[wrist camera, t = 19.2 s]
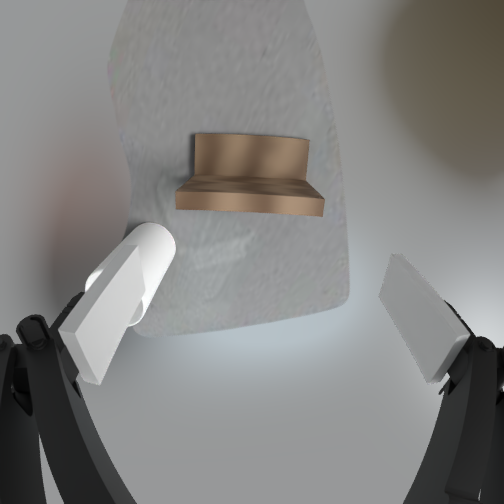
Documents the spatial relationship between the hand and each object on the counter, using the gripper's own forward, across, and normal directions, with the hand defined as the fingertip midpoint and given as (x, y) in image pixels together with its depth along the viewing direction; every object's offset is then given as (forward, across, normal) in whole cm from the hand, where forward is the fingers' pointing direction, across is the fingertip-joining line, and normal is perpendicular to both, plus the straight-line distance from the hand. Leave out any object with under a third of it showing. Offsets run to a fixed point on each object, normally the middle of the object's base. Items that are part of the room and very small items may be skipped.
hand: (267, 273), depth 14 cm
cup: (+28, -17, -12) cm, 35 cm away
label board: (+29, -1, +1) cm, 29 cm away
